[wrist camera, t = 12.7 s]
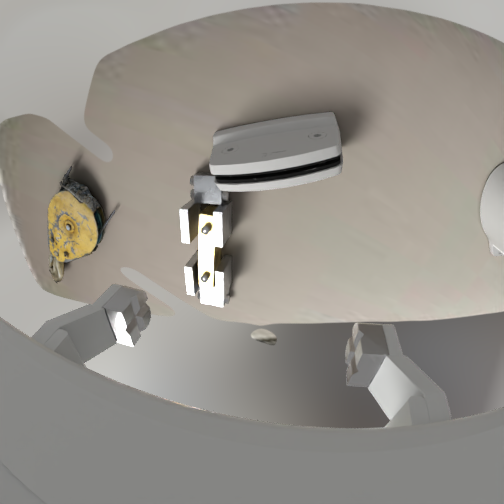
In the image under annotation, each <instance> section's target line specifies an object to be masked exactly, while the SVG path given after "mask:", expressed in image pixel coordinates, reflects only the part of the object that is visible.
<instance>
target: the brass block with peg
mask: <svg viewBox="0 0 504 504" xmlns="http://www.w3.org/2000/svg"><path fill="white" fill-rule="evenodd" d="M216 208H217V207H216V206H210V205H208V206H207V207H206V208H205V209H204V210H203V211H202V212H201V213H200V214H199V248H198V286H203V287H207V288H212V289H213V288H214V286H215V284H216V282H215V271H216V269H217V267H218V265H219V264H220V262H221V247H215V246H214V225H213V211H214V210H215V209H216Z"/></svg>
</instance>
